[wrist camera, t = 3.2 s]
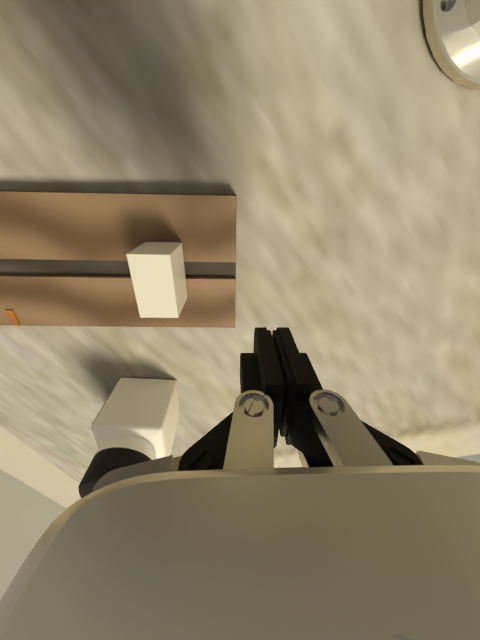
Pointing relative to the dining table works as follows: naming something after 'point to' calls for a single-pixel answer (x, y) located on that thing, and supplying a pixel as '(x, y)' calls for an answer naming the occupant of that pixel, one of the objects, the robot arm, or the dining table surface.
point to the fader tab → (158, 279)
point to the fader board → (111, 256)
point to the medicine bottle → (133, 427)
